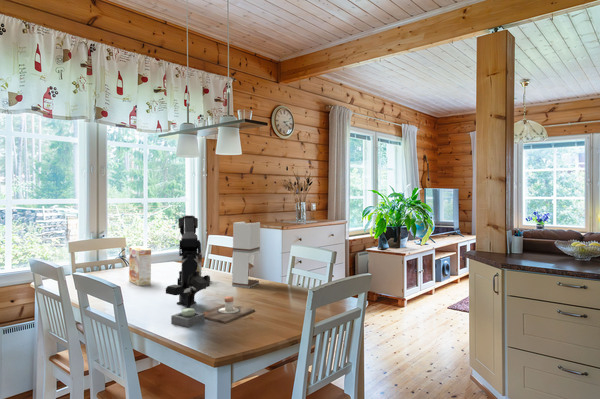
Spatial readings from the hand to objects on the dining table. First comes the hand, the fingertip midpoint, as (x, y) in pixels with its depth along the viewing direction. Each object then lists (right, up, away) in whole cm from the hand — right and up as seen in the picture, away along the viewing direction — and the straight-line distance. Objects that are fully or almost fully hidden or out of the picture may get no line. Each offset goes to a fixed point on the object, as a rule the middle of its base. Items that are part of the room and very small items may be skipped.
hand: (188, 307), depth 161 cm
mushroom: (+14, -5, +14) cm, 20 cm away
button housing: (0, -6, 0) cm, 6 cm away
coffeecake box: (-45, -4, +66) cm, 80 cm away
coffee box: (-17, -4, +72) cm, 74 cm away
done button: (0, -3, 0) cm, 3 cm away
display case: (+14, -5, +66) cm, 67 cm away
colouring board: (+13, -6, +12) cm, 19 cm away
